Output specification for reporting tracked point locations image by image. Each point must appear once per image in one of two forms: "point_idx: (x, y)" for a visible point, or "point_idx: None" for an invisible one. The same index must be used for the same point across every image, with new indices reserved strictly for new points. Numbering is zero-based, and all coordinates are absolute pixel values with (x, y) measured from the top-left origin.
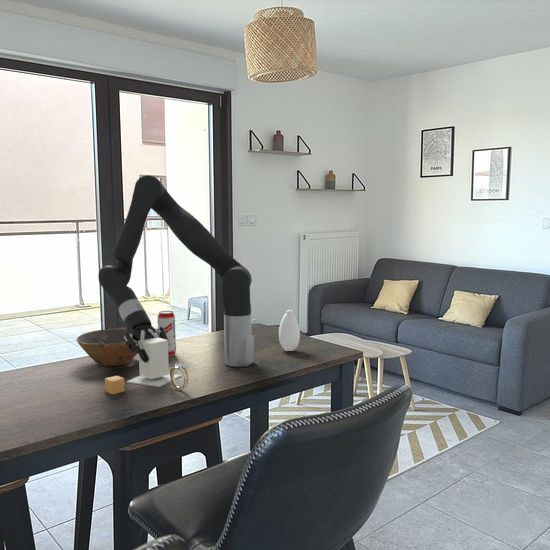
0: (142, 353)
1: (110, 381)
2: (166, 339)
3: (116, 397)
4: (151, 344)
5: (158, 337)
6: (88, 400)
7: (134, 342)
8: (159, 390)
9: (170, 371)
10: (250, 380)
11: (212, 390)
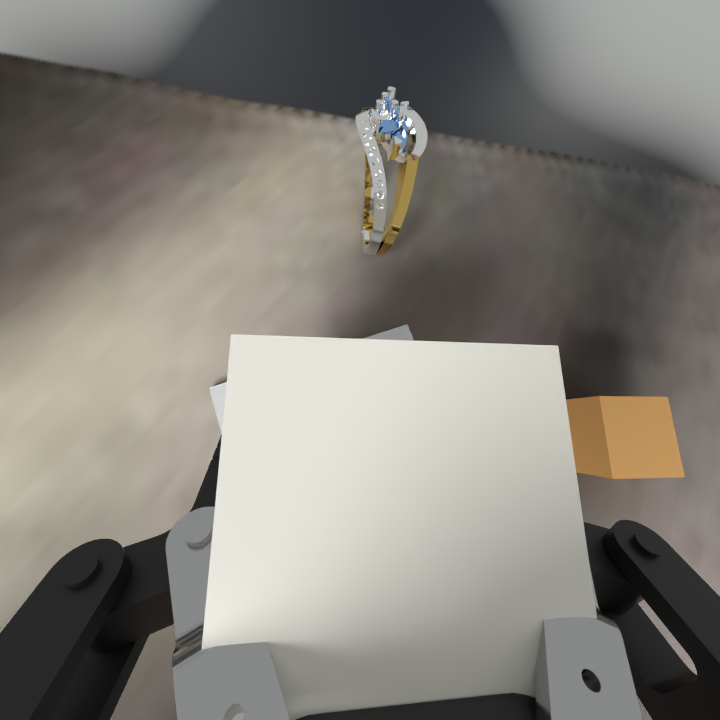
0: None
1: (666, 411)
2: (60, 599)
3: (601, 356)
4: (530, 348)
5: (206, 654)
6: (698, 410)
7: (703, 639)
8: (428, 293)
9: (403, 216)
10: (52, 89)
11: (275, 131)
